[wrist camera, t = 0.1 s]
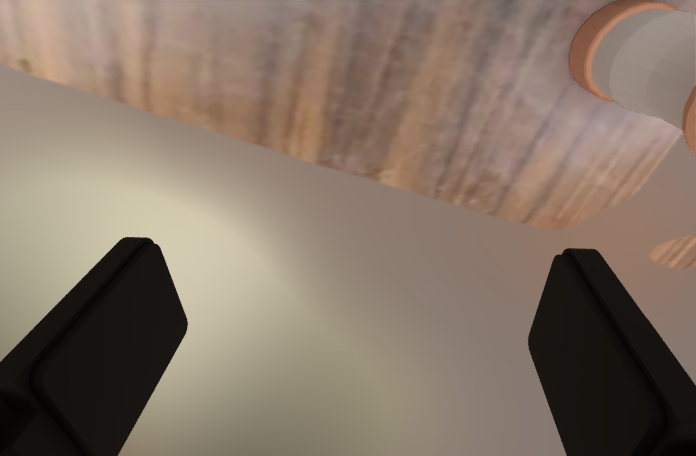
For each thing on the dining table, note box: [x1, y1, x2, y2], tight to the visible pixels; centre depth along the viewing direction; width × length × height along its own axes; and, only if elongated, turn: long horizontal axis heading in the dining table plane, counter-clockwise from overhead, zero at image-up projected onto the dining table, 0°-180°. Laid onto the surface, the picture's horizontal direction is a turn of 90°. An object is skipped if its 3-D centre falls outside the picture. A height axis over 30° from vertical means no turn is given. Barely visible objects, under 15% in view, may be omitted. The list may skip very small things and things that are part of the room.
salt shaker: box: [569, 0, 696, 155], centre depth 26 cm, size 7×7×19 cm
